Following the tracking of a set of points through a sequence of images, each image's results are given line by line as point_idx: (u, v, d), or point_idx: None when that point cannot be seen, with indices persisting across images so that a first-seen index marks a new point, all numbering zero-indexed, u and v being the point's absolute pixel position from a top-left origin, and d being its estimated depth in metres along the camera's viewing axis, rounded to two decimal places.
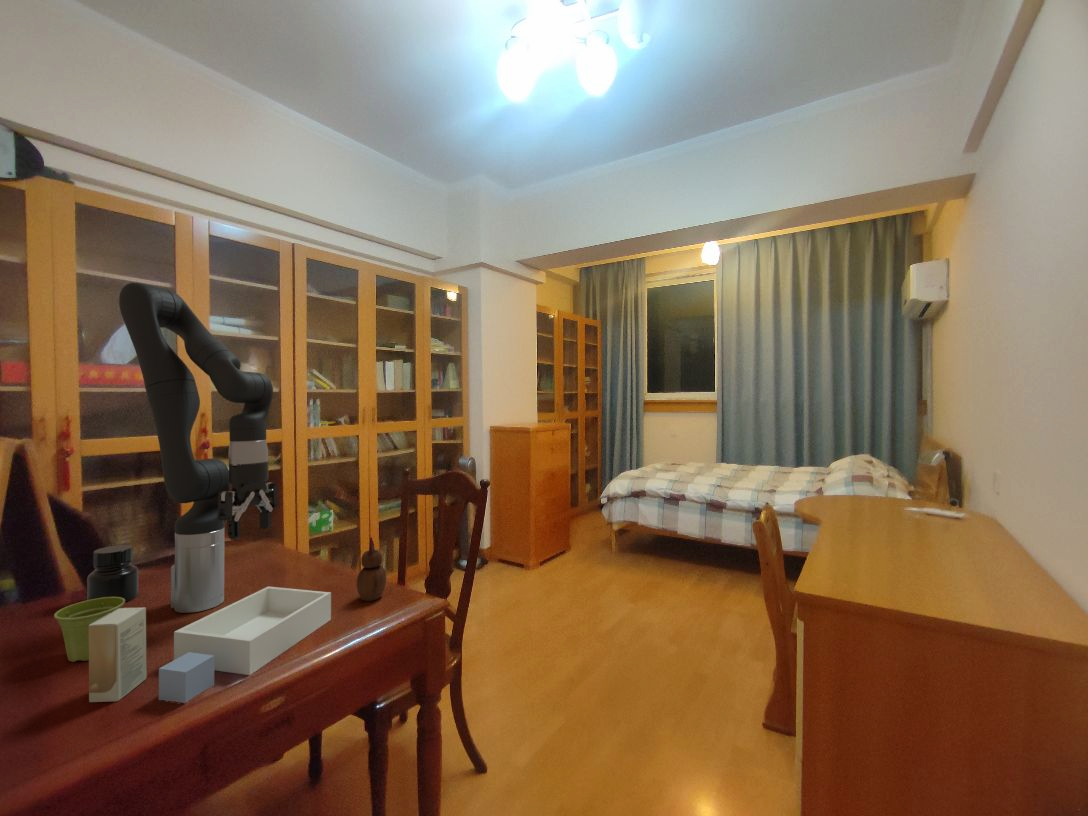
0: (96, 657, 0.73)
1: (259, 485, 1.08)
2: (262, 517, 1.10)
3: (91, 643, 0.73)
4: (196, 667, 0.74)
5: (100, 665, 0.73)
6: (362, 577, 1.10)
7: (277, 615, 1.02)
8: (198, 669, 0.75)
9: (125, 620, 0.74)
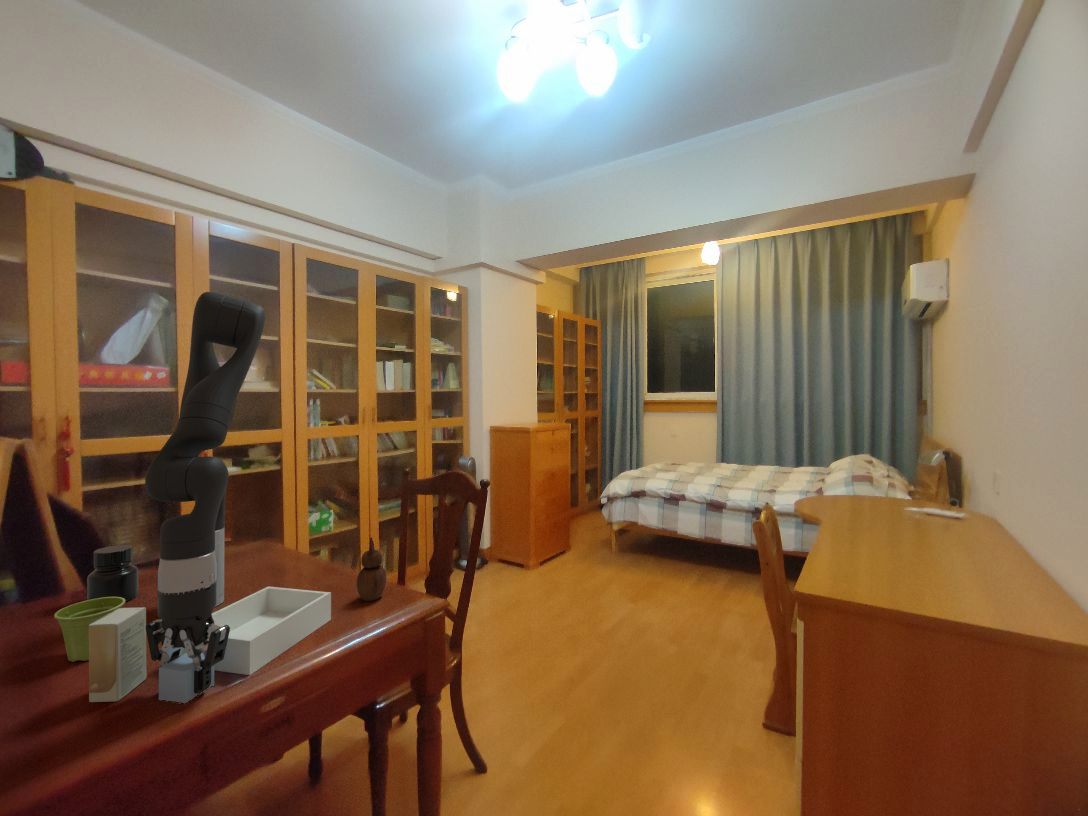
0: (96, 657, 0.73)
1: None
2: None
3: (91, 643, 0.73)
4: None
5: (100, 664, 0.73)
6: (362, 577, 1.10)
7: (277, 615, 1.02)
8: None
9: (125, 620, 0.74)
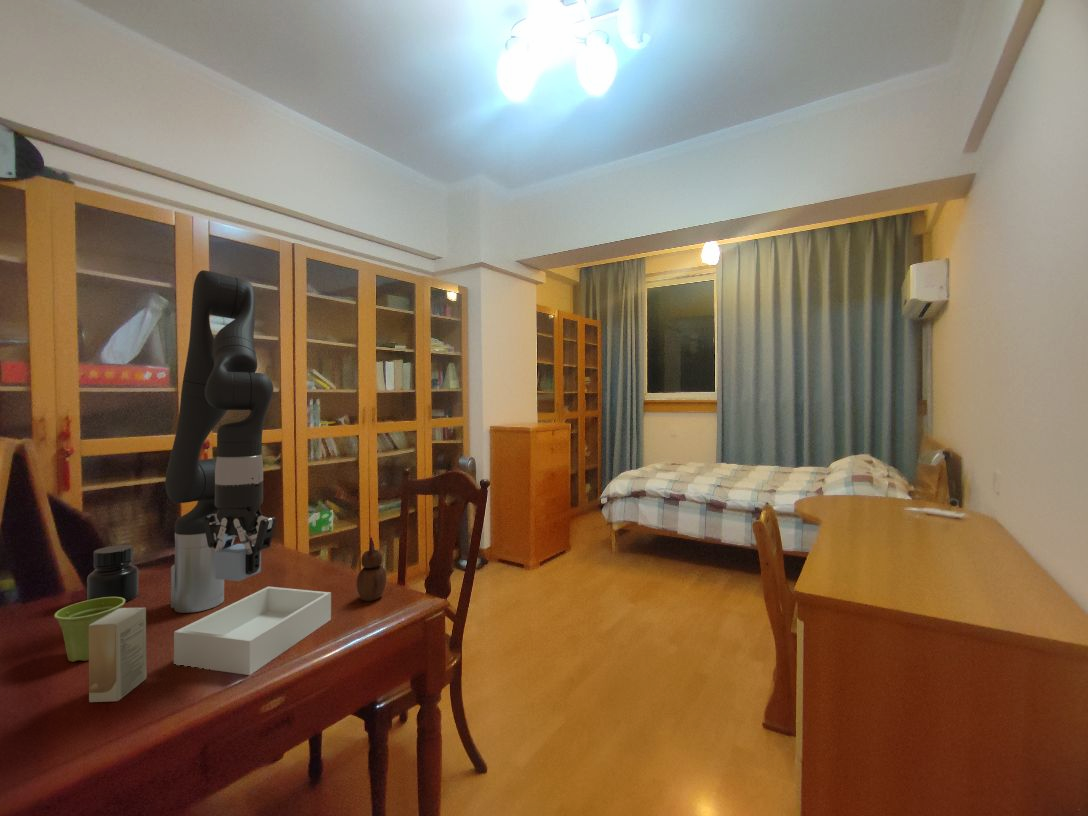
0: (96, 657, 0.73)
1: None
2: None
3: (91, 643, 0.73)
4: None
5: (100, 664, 0.73)
6: (362, 577, 1.10)
7: (277, 615, 1.02)
8: None
9: (125, 620, 0.74)
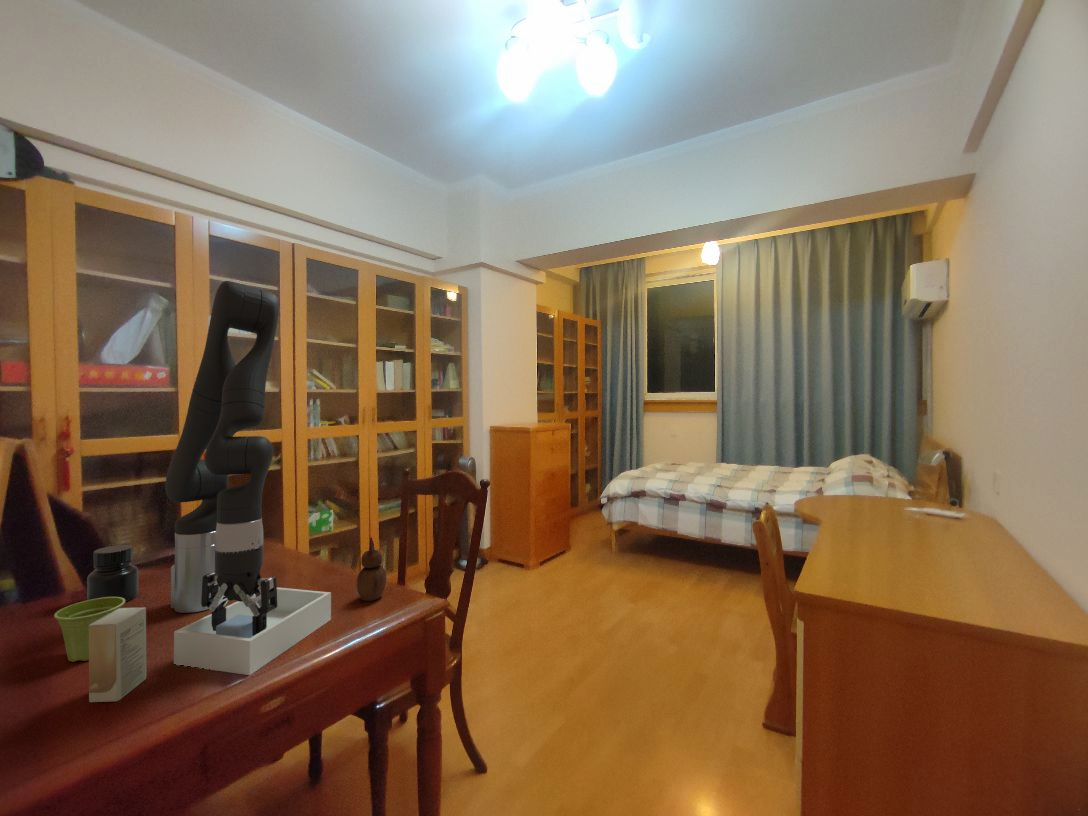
0: (96, 657, 0.73)
1: None
2: (219, 616, 0.88)
3: (91, 643, 0.73)
4: (247, 625, 0.87)
5: (100, 665, 0.73)
6: (362, 577, 1.10)
7: (277, 615, 1.02)
8: (249, 627, 0.87)
9: (125, 620, 0.74)
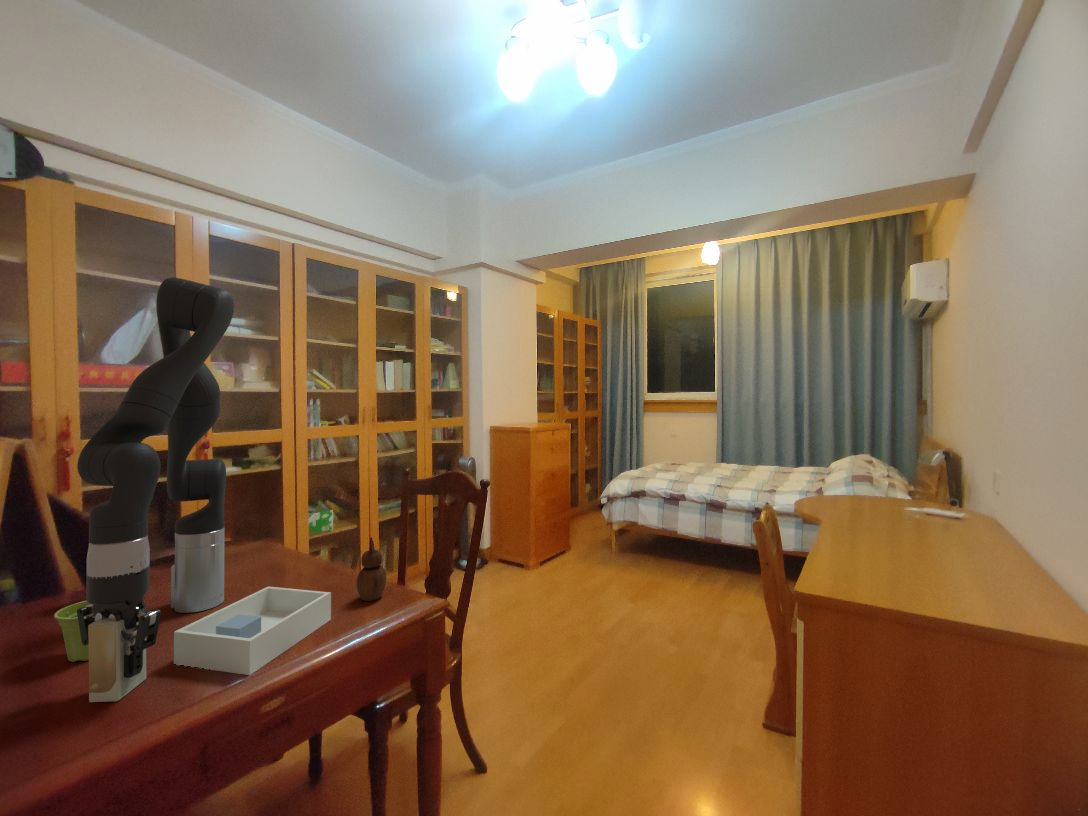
0: (96, 657, 0.73)
1: None
2: None
3: (91, 643, 0.73)
4: (247, 625, 0.87)
5: (100, 664, 0.73)
6: (362, 577, 1.10)
7: (277, 615, 1.02)
8: (249, 627, 0.87)
9: None
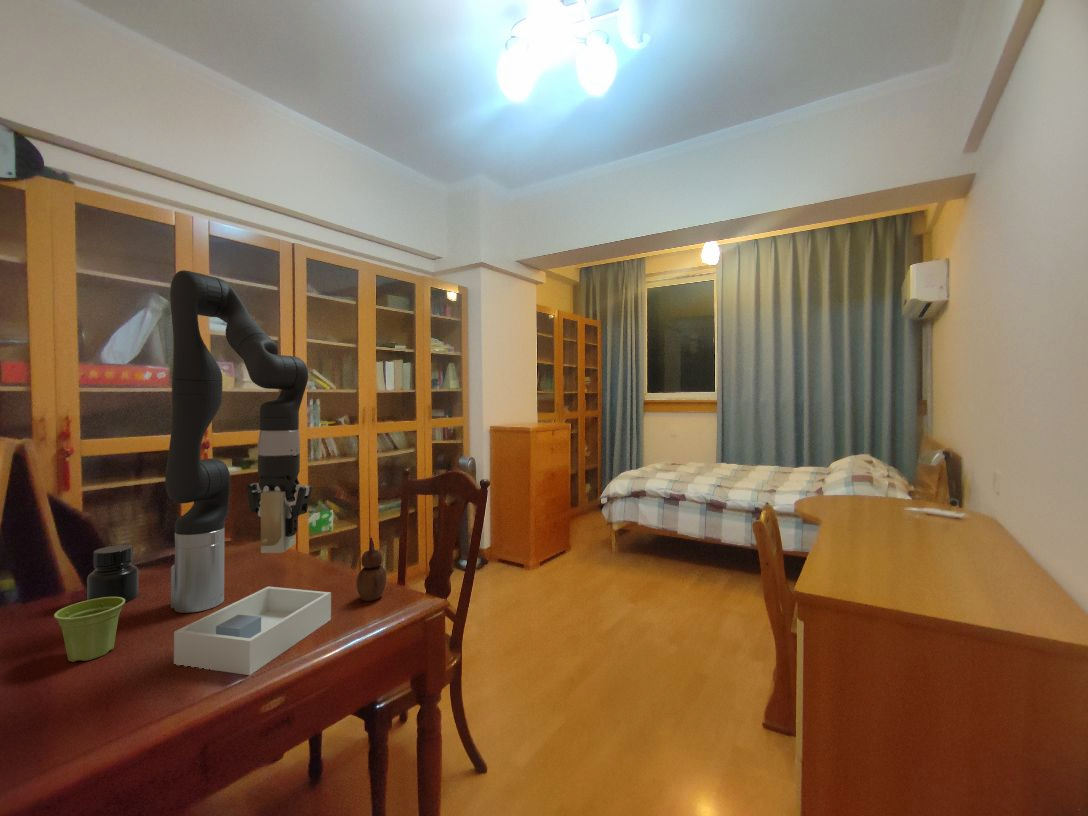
0: (266, 518, 0.94)
1: None
2: None
3: (262, 507, 0.94)
4: (247, 625, 0.87)
5: (269, 524, 0.94)
6: (362, 577, 1.10)
7: (277, 615, 1.02)
8: (249, 627, 0.87)
9: None
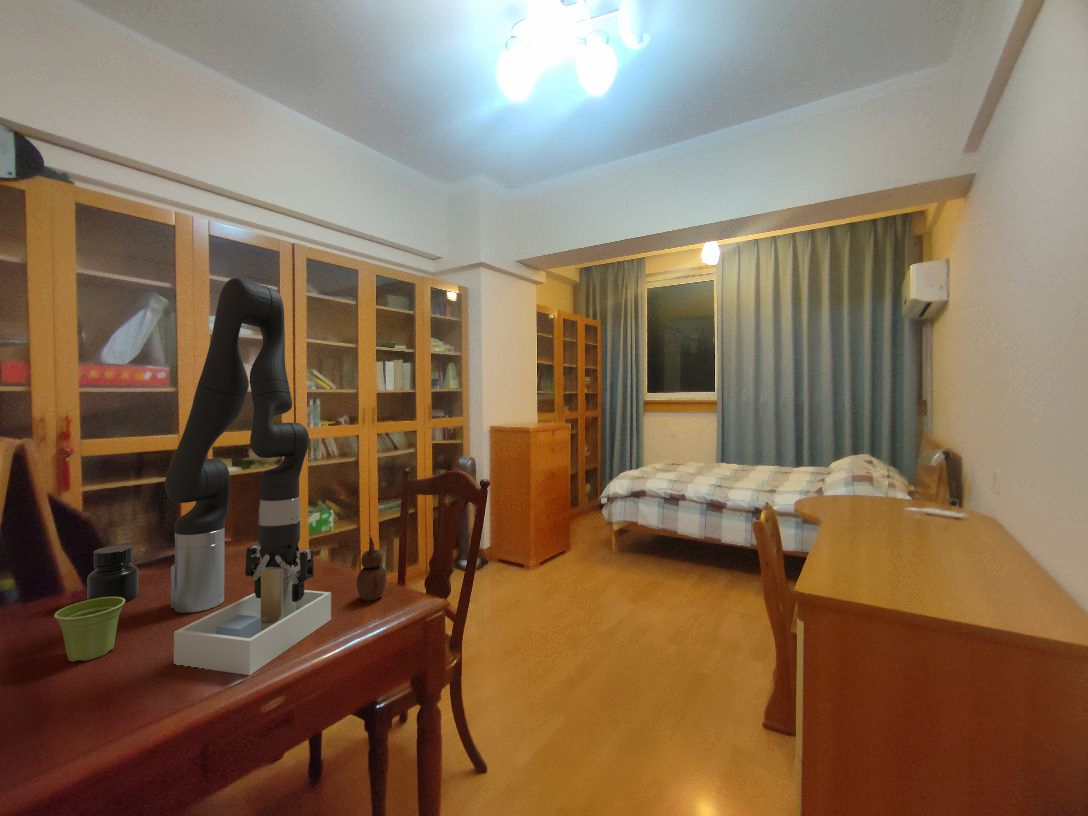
0: (266, 596, 0.94)
1: None
2: None
3: (262, 585, 0.94)
4: (247, 625, 0.87)
5: (269, 602, 0.94)
6: (362, 577, 1.10)
7: None
8: (249, 627, 0.87)
9: None
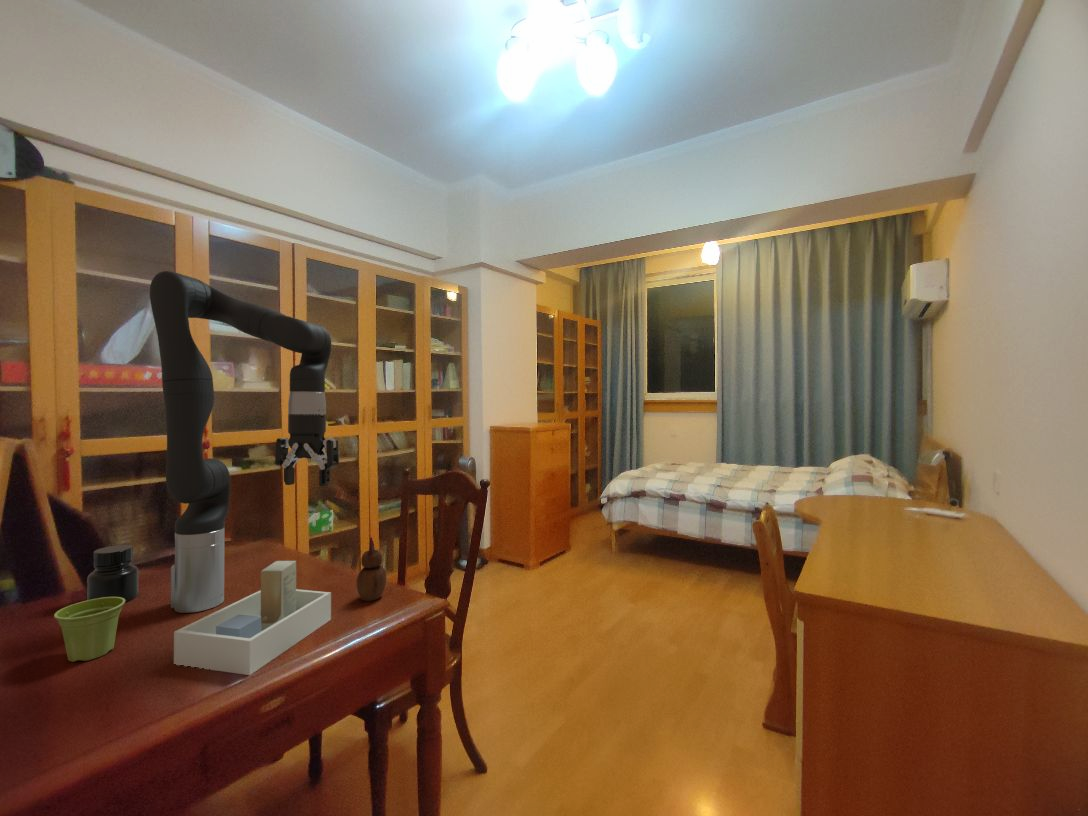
0: (266, 596, 0.94)
1: None
2: (290, 473, 1.06)
3: (262, 585, 0.94)
4: (247, 625, 0.87)
5: (269, 602, 0.94)
6: (362, 577, 1.10)
7: None
8: (249, 627, 0.87)
9: (285, 568, 0.96)
